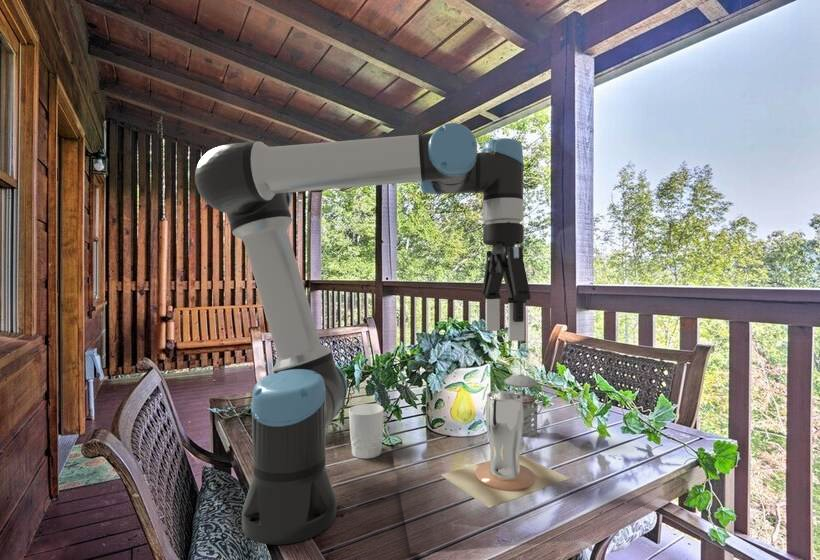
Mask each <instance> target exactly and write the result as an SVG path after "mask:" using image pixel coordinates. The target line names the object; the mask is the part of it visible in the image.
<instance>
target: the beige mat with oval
mask: <svg viewBox="0 0 820 560" xmlns="http://www.w3.org/2000/svg"><path fill="white" fill-rule="evenodd" d="M490 461H491V459H490V460H487V461H484V462H480V463H477V464H474V465H470V466H466V467H464V468H463V467H462V468H460V469H456V470H453V471H450V472H446V473H443V474H442V473H441V474H440V476H441V477H442V478H444V479H446V480H447V481H448V482H450V483H452V484H453V485H454V486H455V487H458V488H459V489H460V490H462V491H463V492H465V493H466V494H468V495H469V496H470V497H472V498H473V499H475V500H476V501H478V502H479V503H481V504H482V505H484V506H485V507H486V508H488V509H491V508H493V507H496V506H499V505H501V504H503V503H507V502H510V501H512V500H515V499H518V498H521V497H523V496H526V495H529V494H532V493H535V492H537V491H539V490H542V489H545V488H548V487H551V486H553V485H556V484H560V483H561V482H564V481H567V480H570V479H571V478H570V477H568V476H566V475H564V474H562V473H560V472H557V471H555V470H553V469H551V468H550V467H547V466H545V465H543V464H541V463H539V462H537V461H535V460H532V459H531V458H528V456H527V457H526V456H525V455H522V454H520V453H519V464H520V465H522V466H525V467H527V468H528V469H530V470H531V471H532V472H533V474H534V483H533V485H532V486H530V487H528V488H526V489H523V490H517V491H505V490H498V489H494V488H490V487H488V486H486V485H484V484H482V483H481V482H479V481H478V480H477V478H476V469H477V467H478V466H480V465H481V464H484V463H487V462H490Z"/></svg>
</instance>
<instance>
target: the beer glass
mask: <svg viewBox="0 0 820 560" xmlns="http://www.w3.org/2000/svg"><path fill="white" fill-rule="evenodd" d="M520 394H521V393H517V392H515V391H507V390H495V391H490V392H488V393H487V394H486V396H487V398H486V410H485V420H486V421H485V422H486V431H487V432H486V433H487V436H488V437H487V438H488V442H489V450H490V460H491V461H490V460H489V461H490V467H489V474H490V475H491V476H492V477H493V478H496V479H498V480H503V481H513V480H517V479H519V478H520V477H521V469H520V464H519V454H520V449H521V444H522V438H523V437H522V436H523V435H522V432H523V403H522V395H520Z"/></svg>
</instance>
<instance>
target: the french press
mask: <svg viewBox="0 0 820 560" xmlns="http://www.w3.org/2000/svg"><path fill="white" fill-rule="evenodd" d="M522 342H525V340H522V341H519V343H520V344H519V345H520V350H519V352H520V353H519V355H520V357H519V358H520V359H519V360H520V365H519V366H520V369H519V371H520V373H519V374H513V375H510V376H509V377H507V378H506V379H504V384H506V385H507V386H508V387H509V386H510V387H513V388H524V389H525V388H526V389H527V388H529V390H530V391H531V392H536V393H537V397H536V396H535V397H534V396H533V395H531V394H524V393H519V394H520V395H522V403H523V432H522V438H523V437H525V438H526V437H534V436H536V435H539V433H538V415H539V414H540V413H541V411H542V410H543V406H544V401H545V400H544V399H545V398H544V392H543V390H542V388H541V387H539V386H538V384H539V382H538V381H537V380H536V379H535V378H533V377H531V376H529V375H524V374H522ZM533 387H534V389H532V388H533ZM538 389H539V391H540V392H541V396H542V404H541V408H540V409H539V410H538V406H539V401H540V393H539V391H538ZM536 398H537V399H536ZM536 400H537V403H536V402H535V401H536ZM532 403H533V407H532Z"/></svg>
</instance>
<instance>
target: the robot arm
mask: <svg viewBox="0 0 820 560" xmlns="http://www.w3.org/2000/svg"><path fill="white" fill-rule="evenodd" d="M196 165H197V166H196V168H195V173H194V174H195V175H194V181H195V186H196V189H197V191H198V193H199V195H200V196H201V198H202V200H203V201H204V202H205V203H206V204H207V205H208V206H209V207H211V208H212V209H215V210H216V211H219V212H220V213H221V212H222V213H224V214H226V216H227V219H228V223H229V225H230V229H231V233H232V235H233V236H234V237H236V238H238V239H240V240H241V241H242V242H243V245H244V248H245V251H246V254H247V258H248V262H249V264H250V267H251V270H252V274H253V278H254V280H255V281H254V282H255V284H256V287H257V288H256V289H257V291H258V294H259V295H258V296H259V298H260V302H261V305H262V308H263V311H264V314H265V315H264V316H265V319H266V321H267V324H268V327H269V331H270V335H271V339H272V341H273V344H274V348H275V351H276V355H277V361H276V362H275V364H274V366H273V368H272V371H273V373H271V374H268V375H266V376H264V377H262V378H261V379H260V380H259V381H257V382H256V384H254V387H253V390H252V397H251V398H252V399H251V403H250V411H251V412H250V413H251V429H252V430H251V434H252V435H251V438H252V439H251V440H252V478H251V481H250V484H249V487H248V492H247V494H246V497H245V501H244V504H243V506H242V510H241V530H242V532H243V534H244V535H245V536H246V537H247V538H248V539H249V540H252V541H254V542H256V543H259V544H263V545H271V546H272V545H275V546H277V545H278V546H281V545H289V544H294V543H299V542H302V541H306V540H309V539H312V538H314V537H315V536H317V535H319V534H321V533H323V532H324V531H325V530H327V529H328V528H329V527H330V526H331V525H332V524H333V522H335V519H336V517H337V512H338V511H337V497H336V493H335V491H334V488H333V484H332V481H331V479H330V475H329V473H328V470H327V467H326V432H327V431H326V430H327V428H328V427H329V425H330V424H331V423H332V421H333V420H334V418H336V417H337V415H338V414H340V413H341V411H342V408H343V407H344V405H345V402H346V398H347V395H348V382H347V379H346V376H345V374H344V372H343V371H342V370H341V368H339V367H338V365H336V363H335V360H334V357H333V356H334V355H333V353H332V351H331V349H330V348H327V346H324V345H323V344H322V343H321V339H320V336H319V333H318V329H317V325H316V322H315V319H314V317H313V316H314V315H313V313H312V309H311V306H310V302H309V299H308V296H307V295H308V294H307V293H306V290H305V285H304V283H303V279H302V275H301V272H300V269H299V265H298V261H297V259H296V256H295V252H294V249H293V246H292V243H291V242H292V241H291V239H290V236H289V232H288V230H289V228H290V226H291V224H292V222H293V218H292V215H291V213H290V206H291V201H292V199H291V197H292V196H291V193H299V192H300V193H301V192H310V191H311V192H313V191H322V190H334V189H335V190H336V189H347V188H357V187H358V188H359V187H369V186H370V187H371V186H372V187H373V186H382V185H395V184H407V183H418V182H419V183H420V190H421V191H422V193H424V194H427V195H430V194H431V195H438V196H441V195H449V194H450V195H452V194H482V196H483V197H482V222H483V223H484V224H485V225H484V226H483V227H482V229H483V231H482V235H483V236H482V237H483V239H482V241H483V245H486V246H492V250H487V251H486V260H485V261H486V262H485V270H484V275H483V276H484V277H483V283H482V284H483V285H482V290H481V294H482V295H483V296H484V299H485V331H486V332H493V331H494V332H495V331H496V332H498V331H500V330H501V329H500V327H501V326H500V322H501V321H500V319H501V317H500V316H501V315H500V314H501V313H500V312H501V311H500V310H501V309H500V307H501V306H500V300H501V298H502V296H501V293H500V289H501V286H502V283H503V282H502V281H503V279H504V284H505V286H506V287H505V288H506V290H507V291H506V292H507V293H508V298H507V300H506V303H507V333H508V335H507V337H508V338H507V339H508V340H507V341H511V342H512V341H513V342H514V341H515V342H520V341H521V342H523V341H522V340H525V337H526V336H525V334H526V333H525V329H526V327H525V324H526V323H525V320H526V319H525V312H526V311H525V310H526V309H525V304H526V303H527V301H530V299H531V291H530V286H529V281H528V276H527V273H526V271H527V270H526V267H525V262H524V249H523V246H517V245H521V244H523V243H524V237H525V235H524V234H525V231H524V225H523V224H522V223H521V222H523V221H524V212H526V207H525V206H524V167H525V164H524V153H523V145H522V144H521V142H520V141H519V140H517V139H513V138H507V137H504V138H502V137H501V138H498V139H490V140H488V141H486V142H485V143H484V144H483V146H482V150H481V152H478V143H477V139H476V137H475V135H474V133H473V132H472V130H470V128H468V127H467V126H465V125H463V124H461V123H456V122H450V123H445V124H443V125H441V126H439V127H438V128H437V129H436V130H435V131H434V132H431V133H429V132H427V133H420V134H412V135H399V136H398V135H397V136H385V137H376V138H363V139H362V138H361V139H351V140H350V139H349V140H340V141H339V140H338V141H326V142H315V143H302V144H290V145H282V146H281V145H277V146H268V145H267V144H265V143H264V142H262V141H261V140H259V141H246V142H237V143H228V144H223V145H218V146H217V147H213V148H212V149H209V150H208V151H207V152H206V153H205V154H203V156H202V157H201V158H200V159H199V161H198V163H197V164H196ZM500 332H501V331H500Z"/></svg>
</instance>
